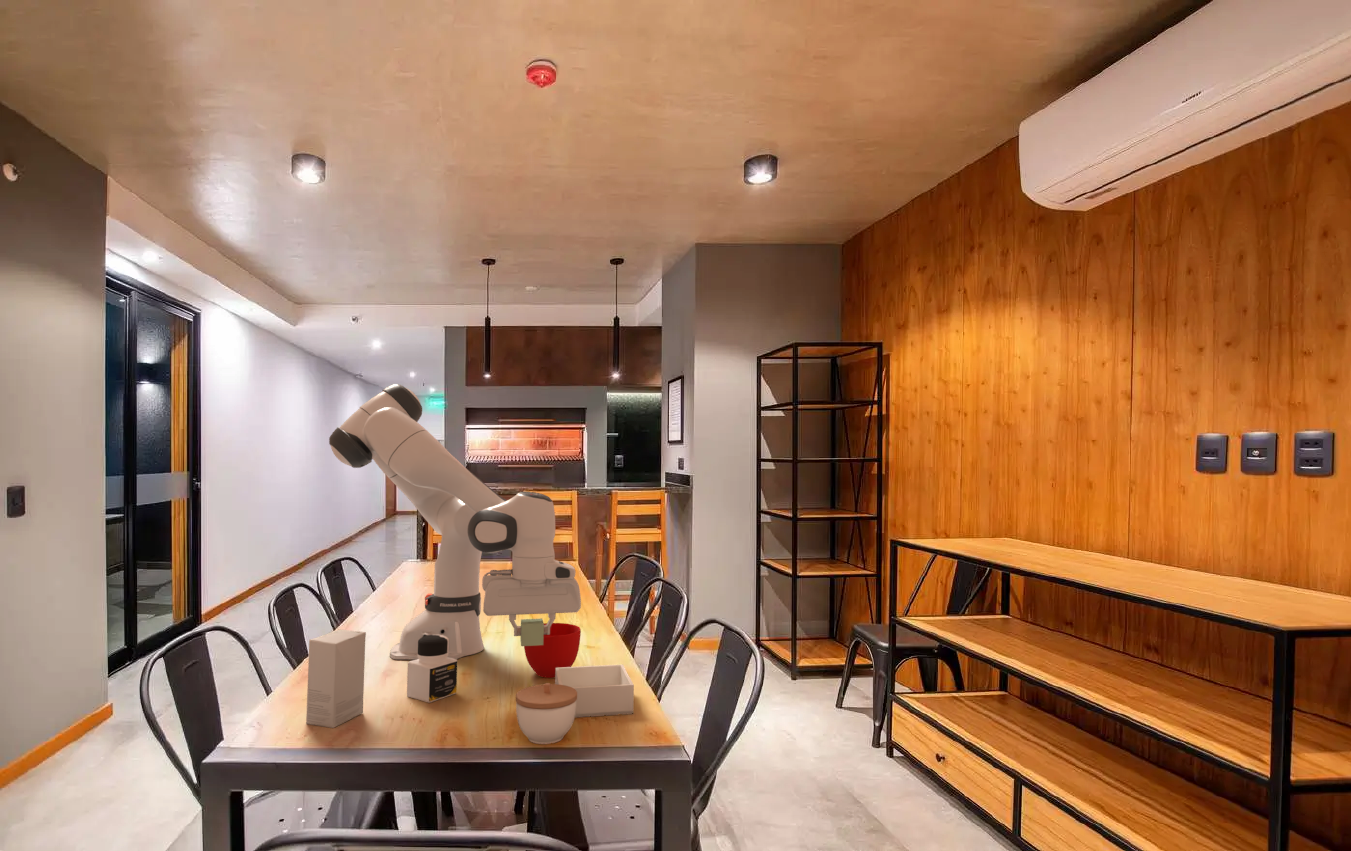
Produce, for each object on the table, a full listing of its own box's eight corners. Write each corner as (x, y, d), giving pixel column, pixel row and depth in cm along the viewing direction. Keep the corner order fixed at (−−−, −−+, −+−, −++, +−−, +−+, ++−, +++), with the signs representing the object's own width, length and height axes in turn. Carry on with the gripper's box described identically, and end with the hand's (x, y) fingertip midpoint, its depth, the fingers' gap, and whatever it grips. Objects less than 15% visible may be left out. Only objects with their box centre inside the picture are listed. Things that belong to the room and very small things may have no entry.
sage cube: (521, 646, 150) (521, 624, 151) (520, 640, 155) (520, 619, 155) (543, 645, 152) (543, 623, 152) (541, 639, 156) (542, 618, 156)
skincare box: (337, 709, 141) (340, 628, 141) (366, 713, 139) (368, 631, 139) (303, 724, 133) (307, 638, 133) (333, 729, 131) (336, 641, 131)
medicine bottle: (429, 703, 145) (431, 642, 145) (405, 696, 149) (407, 637, 149) (457, 693, 151) (458, 635, 151) (434, 687, 155) (435, 630, 155)
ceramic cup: (578, 659, 177) (578, 618, 178) (581, 681, 161) (581, 635, 161) (523, 661, 175) (524, 619, 176) (521, 683, 158) (522, 636, 159)
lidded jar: (525, 725, 134) (526, 673, 135) (582, 727, 133) (583, 676, 134) (506, 748, 123) (507, 692, 124) (568, 751, 122) (569, 694, 123)
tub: (559, 718, 138) (559, 689, 138) (555, 694, 151) (555, 667, 152) (633, 713, 141) (633, 684, 141) (622, 690, 155) (622, 664, 155)
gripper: (482, 572, 148) (480, 641, 148) (582, 570, 153) (581, 636, 153) (482, 567, 154) (481, 633, 154) (579, 565, 159) (577, 629, 159)
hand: (531, 634), depth 153 cm, fingers closed on sage cube, 4 cm apart
